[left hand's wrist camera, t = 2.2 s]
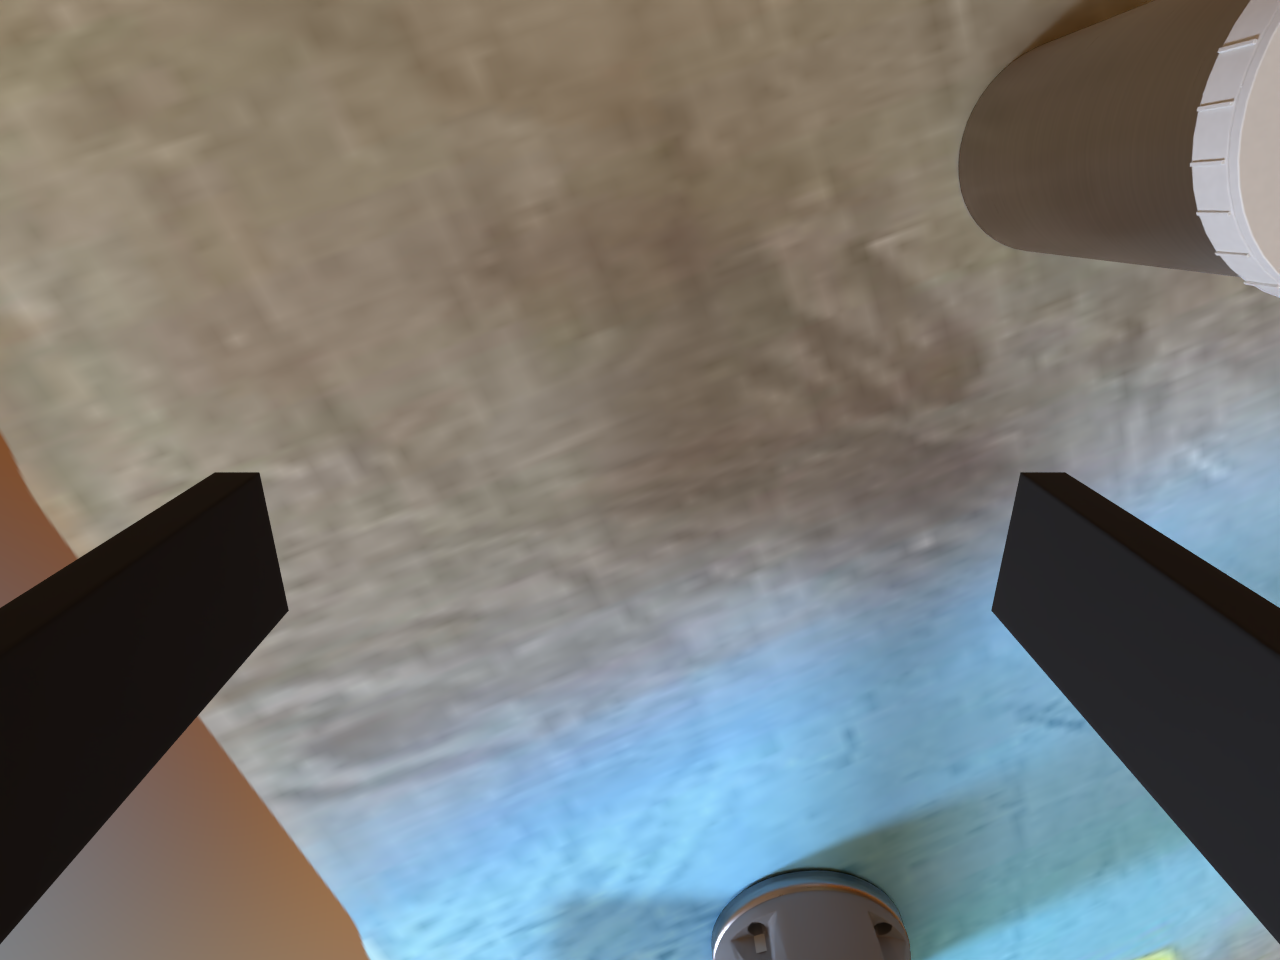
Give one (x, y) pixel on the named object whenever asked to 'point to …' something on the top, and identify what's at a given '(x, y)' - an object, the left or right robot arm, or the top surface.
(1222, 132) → the lid
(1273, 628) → the left robot arm
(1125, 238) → the jar
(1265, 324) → the top surface
